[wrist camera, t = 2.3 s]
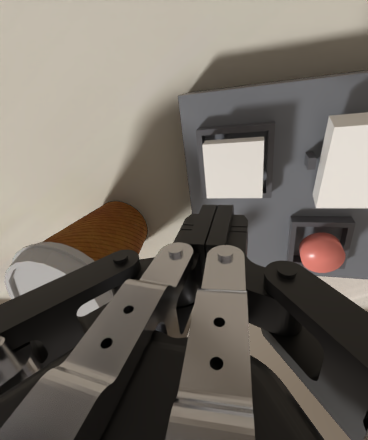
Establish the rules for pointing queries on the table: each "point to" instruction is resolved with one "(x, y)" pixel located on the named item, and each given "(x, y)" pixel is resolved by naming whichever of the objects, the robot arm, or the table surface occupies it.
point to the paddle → (234, 167)
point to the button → (321, 252)
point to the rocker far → (343, 163)
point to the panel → (281, 162)
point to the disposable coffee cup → (77, 250)
